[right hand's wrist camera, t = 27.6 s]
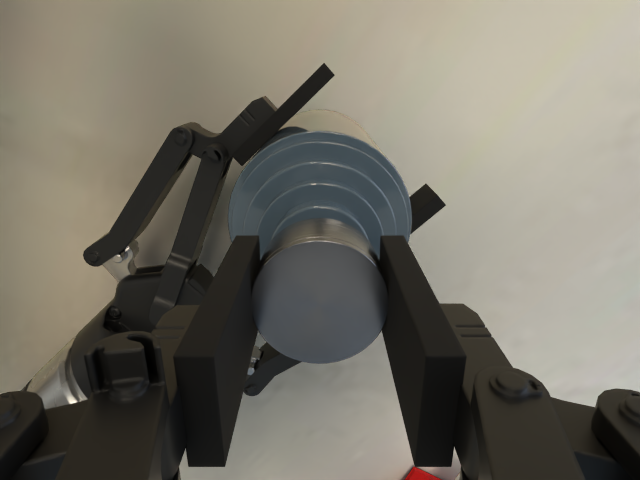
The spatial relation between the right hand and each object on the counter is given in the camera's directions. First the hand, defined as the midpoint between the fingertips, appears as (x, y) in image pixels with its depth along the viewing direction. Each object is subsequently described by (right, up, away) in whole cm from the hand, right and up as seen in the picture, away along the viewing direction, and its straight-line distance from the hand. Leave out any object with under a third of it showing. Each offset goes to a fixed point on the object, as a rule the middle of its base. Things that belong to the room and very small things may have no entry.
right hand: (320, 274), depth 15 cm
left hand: (+4, +7, +9) cm, 12 cm away
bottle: (0, +6, +16) cm, 17 cm away
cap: (0, -1, -2) cm, 2 cm away
